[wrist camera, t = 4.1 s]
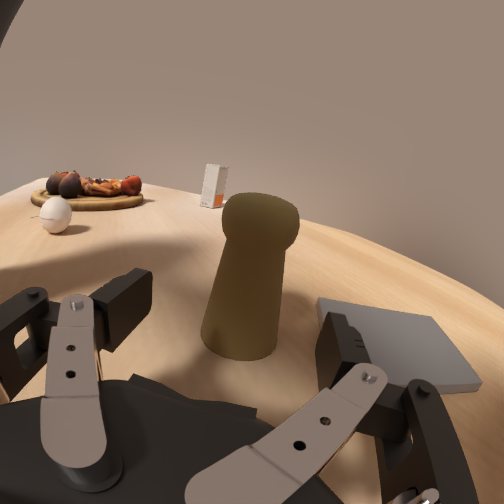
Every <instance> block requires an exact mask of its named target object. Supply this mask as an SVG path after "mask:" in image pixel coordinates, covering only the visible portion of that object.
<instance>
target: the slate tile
mask: <svg viewBox="0 0 504 504" xmlns="http://www.w3.org/2000/svg"><path fill="white" fill-rule="evenodd" d="M316 308H317V314H318V319H319V324H320V330H321V329H322V326H323V323H324V320H325V317H326V315H327V313H328V312H335V313H341V314H345V315H346V318H347V321H348V324H349V326H353V327H355V328H356V329H357V330H358V332H359V333H360V334H361V336H362V339H363V342H364V344H365V346H366V347H365V348H366V349H367V352H368V354H369V357H370V360H371V363H372V364H373V365H375V366H377V367H379V368H381V369H382V370H383V371H384V372H385V373H386V375H387V377H388V383H391V384H394V385H397V386H401V387H404V388H406V386H407V385H408V383H409V382H410V381H411V380H413V379H422V380H425V381H428V382H430V383H431V384H432V385H434V386H435V388H436V389H437V390H438V392H439V394H448V393H463V392H474V391H478V389H479V388H480V386H481V385H482V383H483V382H482V381H481V379H480V378H479V377H478V375H477V374H476V372H475V371H474V370H473V368H472V367H471V366H470V364H469V363H468V362H467V360H466V359H465V358H464V356H463V355H462V354H461V353H460V351H459V350H458V349H457V347H456V346H455V345H454V344H453V342H452V341H451V340H450V339H449V337H448V336H447V335H446V334H445V332H444V331H443V330H442V329H441V328H440V326H439V325H438V324H437V323H436V322H435V321H434V319H433V318H432V317H431V316H424V315H418V314H411V313H405V312H399V311H393V310H387V309H381V308H375V307H370V306H364V305H358V304H353V303H347V302H342V301H336V300H331V299H326V298H320V297H318V300H317V304H316Z"/></svg>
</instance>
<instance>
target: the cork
mask: <svg viewBox="0 0 504 504" xmlns="http://www.w3.org/2000/svg"><path fill="white" fill-rule="evenodd" d="M299 227H300V223H299V214H298V211H297V208H296V207H295V206H294V205H293V204H291V203H289V202H287V201H285V200H283V199H281V198H278V197H276V196H272V195H267V194H261V193H239V194H236V195H233V196H232V197H230V199H229V200H228V201H227V202H226V204H225V206H224V209H223V213H222V228H223V232H224V234H225V236H226V238H227V240H226V243H225V246H224V250H223V253H222V257H221V260H220V263H219V267H218V270H217V274H216V277H215V281H214V284H213V288H212V291H211V295H210V298H209V302H208V306H207V309H206V313H205V316H204V320H203V324H202V327H201V338H202V340H203V342H204V344H205V345H206V346H207V347H208V348H209V349H211V350H212V351H213V352H215V353H217V354H219V355H221V356H223V357H226V358H230V359H234V360H241V361H252V360H258V359H262V358H264V357H266V356H268V355H270V354H271V353H272V352H273V350H274V349H275V346H276V340H277V331H278V322H279V313H280V304H281V294H282V284H283V273H284V262H285V251H286V249H288V248H289V247H290V246H291V245H292V244H293V243H294V241H295V239H296V237H297V235H298V231H299Z"/></svg>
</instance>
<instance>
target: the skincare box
mask: <svg viewBox="0 0 504 504" xmlns="http://www.w3.org/2000/svg"><path fill="white" fill-rule="evenodd" d="M228 168H229V167H226V166H221V165H214V164H207V166H206V171H205V177H204V183H203V189H202V195H201V201H200V206H204V207H209V208H217V207H222V202H223V195H224V190H225V184H226V179H227V173H228Z"/></svg>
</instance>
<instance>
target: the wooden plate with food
mask: <svg viewBox="0 0 504 504" xmlns="http://www.w3.org/2000/svg"><path fill="white" fill-rule="evenodd" d="M141 187H142V182H141V180H140V178H139V177H138V176H131V177H130V176H128V177H127V178H125V180H123V181H122V182H120V181H119V180H116V179H112V180H104V181H102V180H101V178H100V179H96V180H95V181H94V180H93V179H91V178H84V177H80V176H79V174H78V173H76V172H75V171H73V172H71V173H68V172H66V173H65V172H63V173H61V174H59V173H58V172H57V171H56V172H55V173H54V174H53V175H51V176H50V177H49V179H48V181H47V183H46V188H45V189H41V190H38V191H36V192H34V193H33V194H32V195H31V202H32V203H33V204H34V205H36V206H39V207H42V205H43V204H44V203H45V202H46V201H47V200H48V199H50V198H52V197H61V198H63V199H65V200H66V201H67V202H68V203H69V205H70V207H71V210H72V211H102V210H115V209H123V208H129V207H133V206H136V205H139V204H140V203H141V202H142V201H143V195H142V194H141V193H140V191H141Z"/></svg>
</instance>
